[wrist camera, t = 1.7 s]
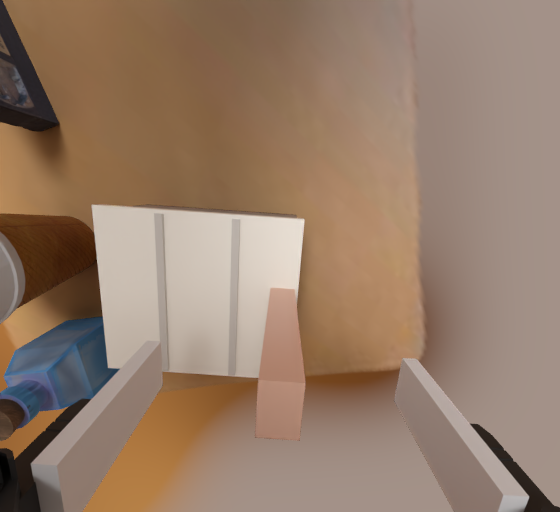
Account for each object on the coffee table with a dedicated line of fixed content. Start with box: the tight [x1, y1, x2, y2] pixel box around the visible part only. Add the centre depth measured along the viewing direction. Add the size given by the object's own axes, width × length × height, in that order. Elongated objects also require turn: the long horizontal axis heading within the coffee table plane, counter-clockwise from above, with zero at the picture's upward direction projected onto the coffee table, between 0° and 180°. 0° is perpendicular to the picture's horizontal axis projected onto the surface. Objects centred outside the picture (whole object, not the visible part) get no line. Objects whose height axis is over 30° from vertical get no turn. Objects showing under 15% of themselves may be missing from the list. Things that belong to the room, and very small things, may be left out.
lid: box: [92, 204, 306, 440], centre depth 18 cm, size 15×17×13 cm
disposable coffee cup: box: [0, 214, 97, 324], centre depth 23 cm, size 10×10×12 cm
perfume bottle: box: [0, 316, 120, 441], centre depth 26 cm, size 6×6×12 cm
